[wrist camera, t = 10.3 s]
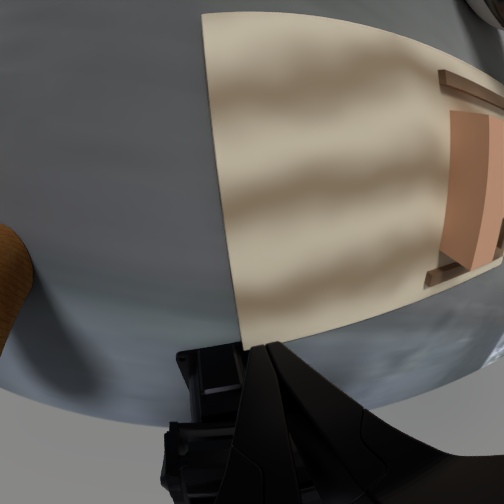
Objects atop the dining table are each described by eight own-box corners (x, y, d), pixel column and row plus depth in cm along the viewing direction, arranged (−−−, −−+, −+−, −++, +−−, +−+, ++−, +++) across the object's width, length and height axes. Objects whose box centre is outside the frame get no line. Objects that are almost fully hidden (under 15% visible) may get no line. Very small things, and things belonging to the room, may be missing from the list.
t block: (497, 232, 22) (521, 246, 18) (439, 250, 20) (470, 271, 16) (507, 128, 16) (535, 135, 13) (449, 109, 15) (488, 114, 11)
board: (496, 260, 25) (505, 266, 24) (241, 341, 20) (246, 358, 19) (511, 93, 16) (522, 94, 14) (200, 20, 11) (202, 8, 9)
